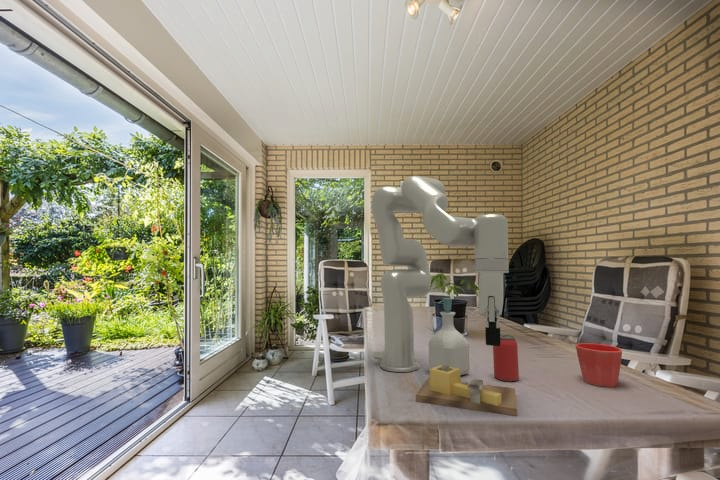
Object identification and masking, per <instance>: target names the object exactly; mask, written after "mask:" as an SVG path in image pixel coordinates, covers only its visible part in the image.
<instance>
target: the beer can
mask: <svg viewBox="0 0 720 480" xmlns="http://www.w3.org/2000/svg"><path fill="white" fill-rule="evenodd" d="M500 342H501V343H500V346H492V351H493V352H492V353H493V354H492V355H493V356H492V357H493V375H494V377H495V379H497V380H499V381H502V382H507V383H509V382H511V383H512V382H516V381H518V380H519V378H520V371H519V352H518V351H519V350H518V342H517V340H516V337H515V336H514V335H510V334H500Z"/></svg>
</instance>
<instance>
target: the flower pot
mask: <svg viewBox="0 0 720 480" xmlns="http://www.w3.org/2000/svg"><path fill="white" fill-rule="evenodd" d="M575 350H576V354H577V359H578V362H579V363H578V364H579V367H580V372H581V375H582V379H583V381H584V382H585V383H587V384H589V385H593V386H597V387H607V388H612V387H613V388H615V387H617V386H618V384H619V379H620V378H619V377H620V371H621V365H622V363H621V362H622V357H623V356H622V355H623V350H622V349H621V348H620V347H617V346H613V345H608V344H601V343H588V342H587V343H586V342H585V343H582V342H581V343H580V342H579V343H576V344H575Z"/></svg>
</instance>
